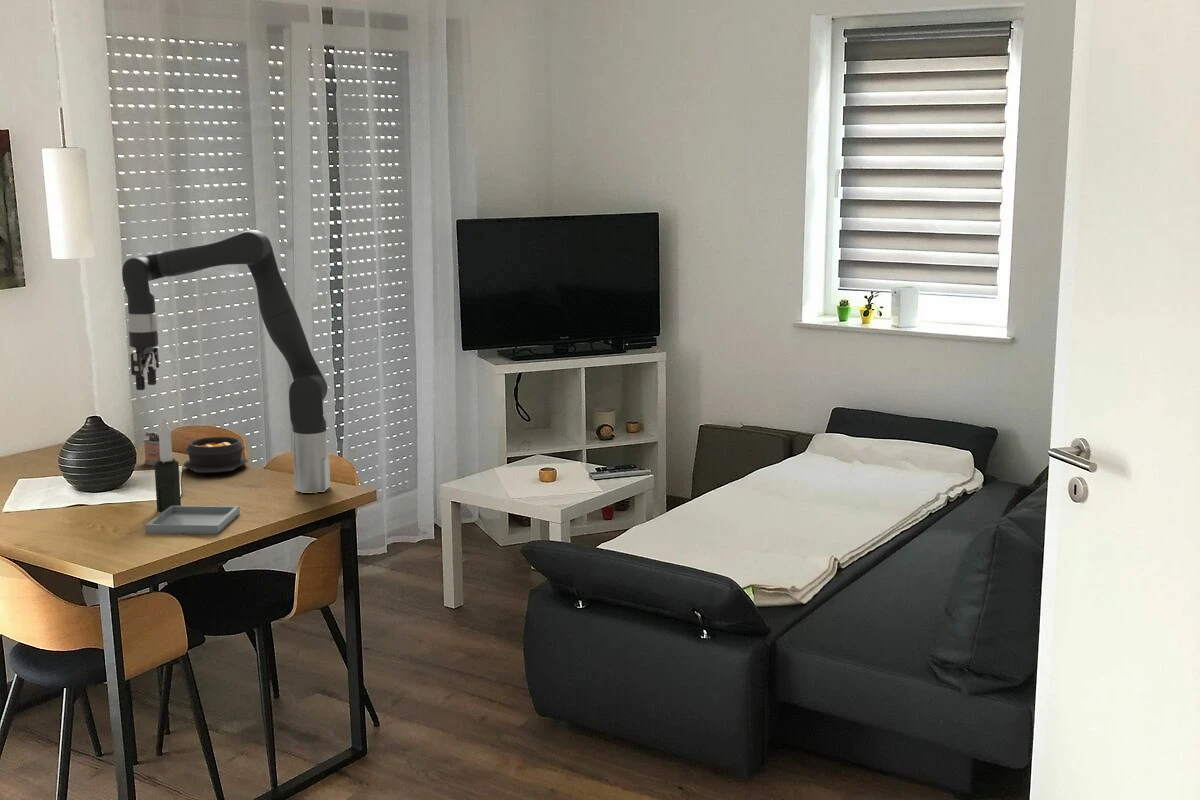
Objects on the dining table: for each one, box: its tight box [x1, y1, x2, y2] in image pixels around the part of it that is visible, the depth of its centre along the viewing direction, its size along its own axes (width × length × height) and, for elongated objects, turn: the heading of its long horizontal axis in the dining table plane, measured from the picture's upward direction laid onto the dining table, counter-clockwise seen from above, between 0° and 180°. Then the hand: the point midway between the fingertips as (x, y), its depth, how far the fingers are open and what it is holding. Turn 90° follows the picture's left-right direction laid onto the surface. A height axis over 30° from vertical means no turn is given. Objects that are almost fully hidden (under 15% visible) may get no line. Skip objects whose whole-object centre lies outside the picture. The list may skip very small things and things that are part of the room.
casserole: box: [183, 436, 248, 474], centre depth 363 cm, size 25×19×8 cm
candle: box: [153, 417, 182, 513], centre depth 317 cm, size 5×5×25 cm
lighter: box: [143, 431, 160, 466], centre depth 368 cm, size 8×3×10 cm, turn 65°
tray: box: [145, 505, 241, 535], centre depth 306 cm, size 18×18×2 cm
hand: (146, 387), depth 334 cm, fingers open, 8 cm apart
